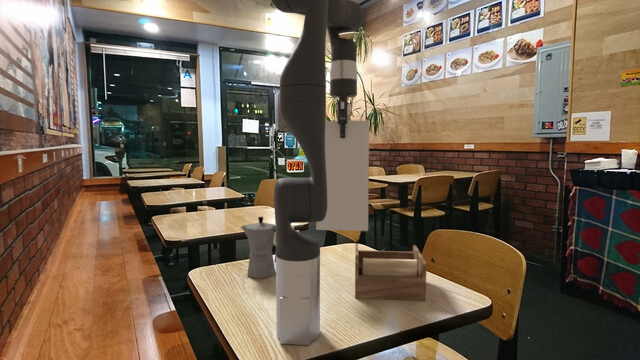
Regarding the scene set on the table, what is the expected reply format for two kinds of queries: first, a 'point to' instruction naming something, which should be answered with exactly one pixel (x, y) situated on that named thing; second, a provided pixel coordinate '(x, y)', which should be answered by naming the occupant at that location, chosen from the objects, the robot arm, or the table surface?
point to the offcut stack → (390, 267)
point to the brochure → (346, 177)
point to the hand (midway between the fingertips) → (343, 140)
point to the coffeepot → (260, 249)
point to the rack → (390, 278)
